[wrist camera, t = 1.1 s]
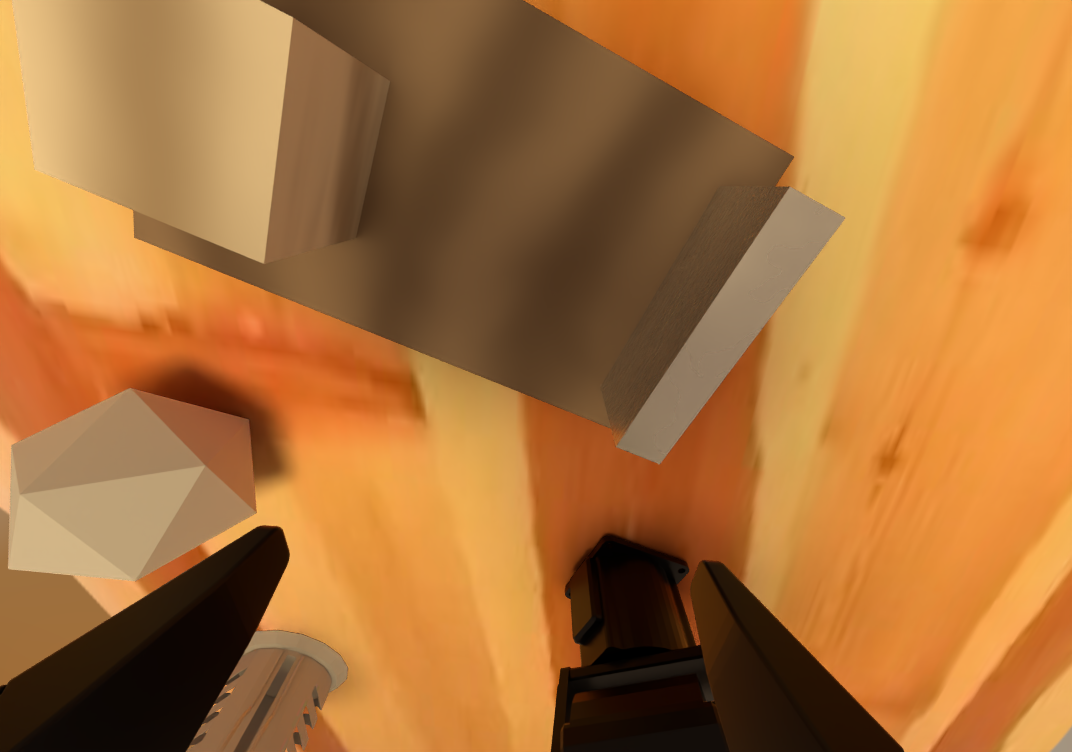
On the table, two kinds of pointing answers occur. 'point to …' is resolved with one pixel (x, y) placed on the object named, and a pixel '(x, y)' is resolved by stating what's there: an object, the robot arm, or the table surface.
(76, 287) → the table surface
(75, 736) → the robot arm
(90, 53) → the cube
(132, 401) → the die
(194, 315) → the table surface
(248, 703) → the french press
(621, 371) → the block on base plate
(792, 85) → the table surface
